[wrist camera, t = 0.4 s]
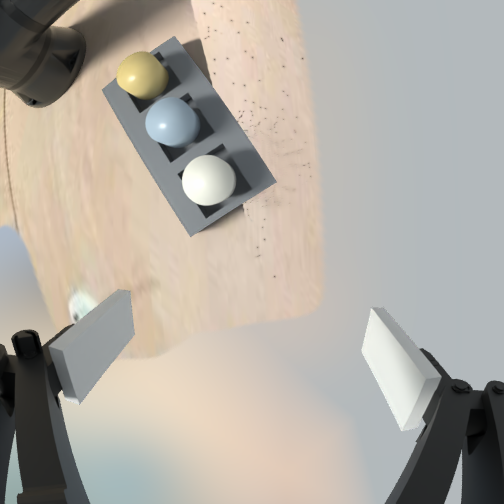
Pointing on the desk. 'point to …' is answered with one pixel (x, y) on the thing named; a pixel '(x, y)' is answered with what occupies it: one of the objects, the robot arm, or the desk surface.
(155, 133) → the light blue rounded dome
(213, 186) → the ivory button
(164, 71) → the ochre button
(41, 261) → the desk surface
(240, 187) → the grey compartment tray
